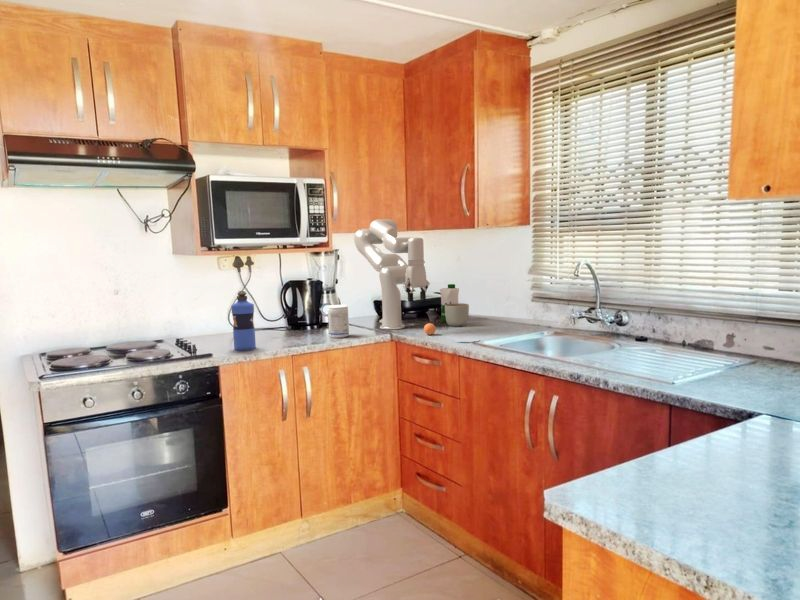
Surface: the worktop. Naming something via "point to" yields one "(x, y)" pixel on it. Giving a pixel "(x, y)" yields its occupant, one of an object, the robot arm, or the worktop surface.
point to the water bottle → (243, 323)
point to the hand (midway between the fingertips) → (416, 300)
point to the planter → (456, 314)
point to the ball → (429, 329)
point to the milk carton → (448, 298)
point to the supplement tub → (338, 321)
